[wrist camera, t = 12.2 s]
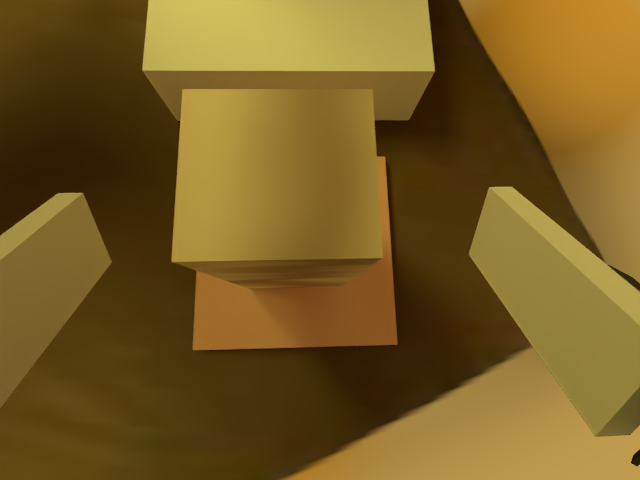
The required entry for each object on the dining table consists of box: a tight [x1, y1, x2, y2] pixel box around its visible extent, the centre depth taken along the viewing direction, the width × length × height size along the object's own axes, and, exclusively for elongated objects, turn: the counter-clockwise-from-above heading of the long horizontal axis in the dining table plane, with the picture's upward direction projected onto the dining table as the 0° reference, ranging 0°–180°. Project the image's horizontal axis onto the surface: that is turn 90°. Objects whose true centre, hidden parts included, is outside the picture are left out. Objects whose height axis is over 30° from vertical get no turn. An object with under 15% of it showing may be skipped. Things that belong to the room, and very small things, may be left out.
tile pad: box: [193, 156, 398, 350], centre depth 21 cm, size 12×12×1 cm
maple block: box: [171, 89, 383, 289], centre depth 15 cm, size 6×5×12 cm
